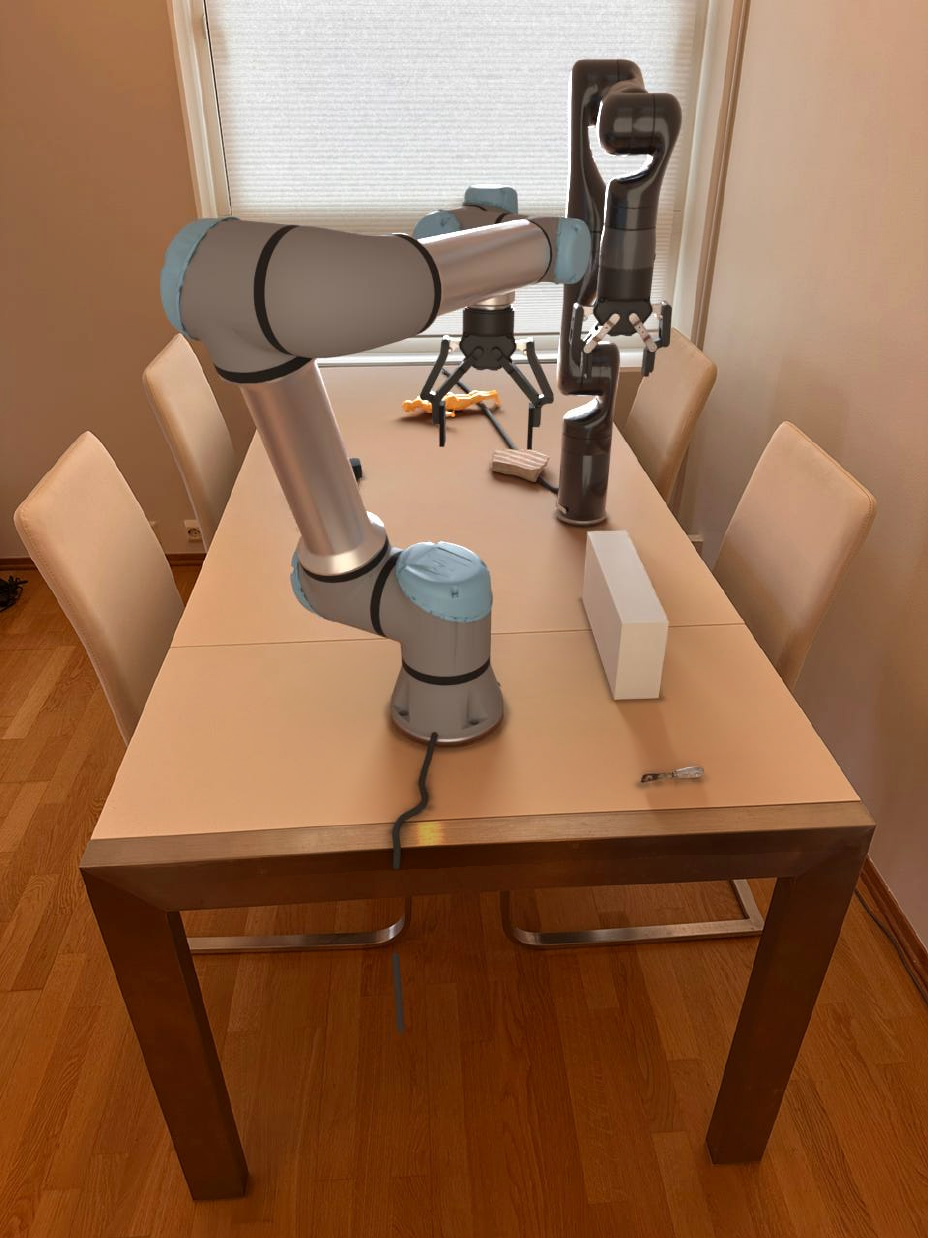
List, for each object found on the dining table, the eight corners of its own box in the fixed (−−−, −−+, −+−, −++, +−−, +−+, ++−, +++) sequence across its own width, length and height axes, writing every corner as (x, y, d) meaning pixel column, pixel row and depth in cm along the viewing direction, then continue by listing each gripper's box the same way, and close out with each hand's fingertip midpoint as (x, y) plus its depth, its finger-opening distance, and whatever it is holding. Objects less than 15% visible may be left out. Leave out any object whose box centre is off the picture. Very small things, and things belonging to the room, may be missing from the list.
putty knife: (703, 777, 109) (705, 767, 109) (642, 788, 108) (644, 777, 107) (700, 772, 110) (702, 762, 109) (639, 782, 109) (640, 771, 108)
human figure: (395, 413, 223) (394, 398, 221) (438, 390, 237) (438, 375, 235) (462, 429, 215) (462, 413, 213) (502, 404, 229) (503, 388, 227)
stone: (554, 462, 195) (554, 451, 194) (536, 482, 186) (537, 471, 185) (499, 454, 200) (499, 444, 198) (479, 474, 190) (479, 463, 189)
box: (658, 698, 123) (669, 621, 117) (614, 699, 123) (622, 623, 117) (619, 598, 146) (626, 530, 140) (582, 599, 146) (587, 531, 139)
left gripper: (574, 300, 131) (565, 439, 142) (406, 296, 132) (409, 434, 143) (576, 311, 125) (566, 456, 135) (399, 307, 126) (403, 451, 137)
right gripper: (671, 253, 126) (658, 366, 135) (571, 255, 126) (564, 368, 135) (684, 265, 120) (669, 383, 129) (579, 267, 120) (571, 385, 129)
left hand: (485, 445), depth 139 cm, fingers open, 13 cm apart
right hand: (616, 375), depth 132 cm, fingers open, 8 cm apart
